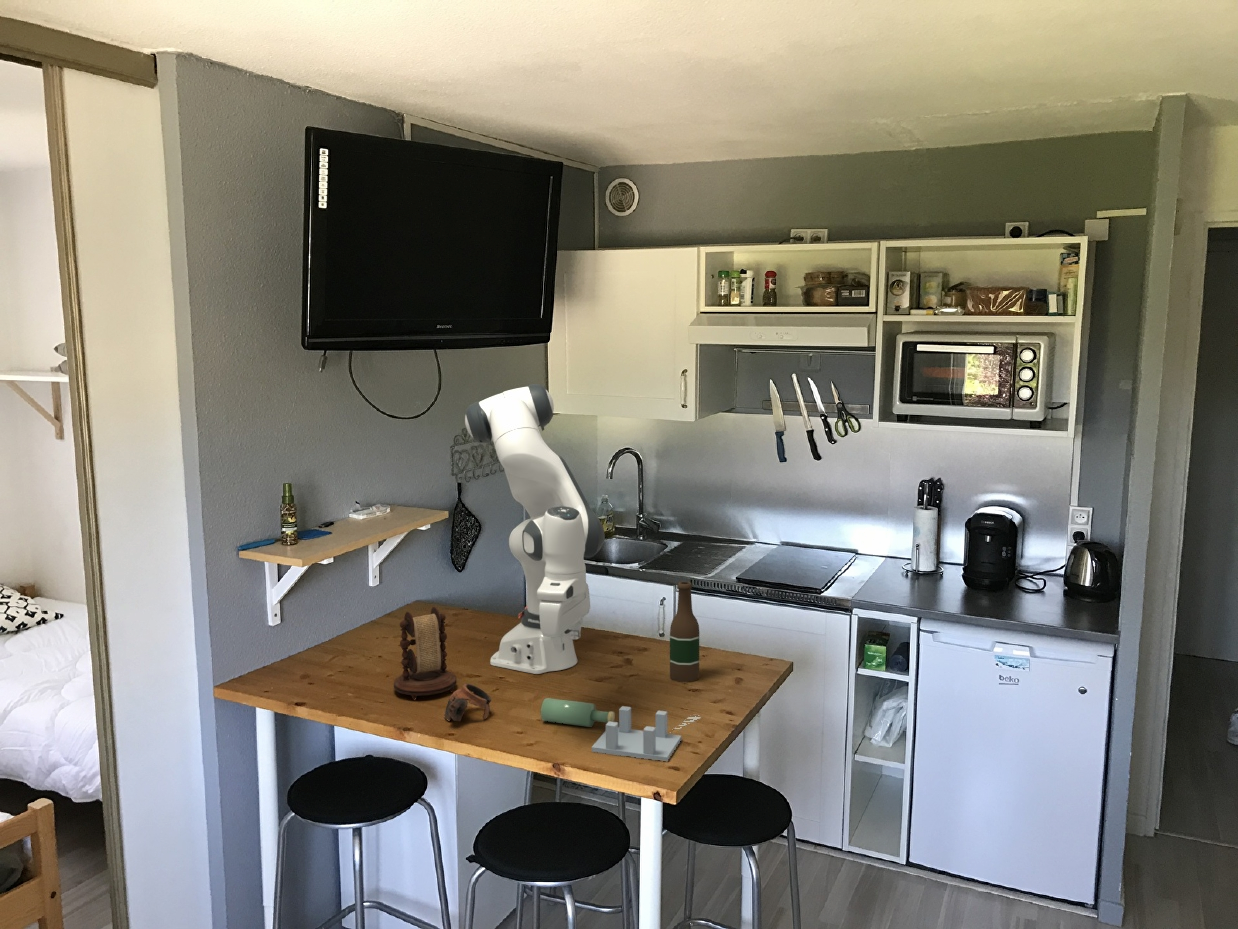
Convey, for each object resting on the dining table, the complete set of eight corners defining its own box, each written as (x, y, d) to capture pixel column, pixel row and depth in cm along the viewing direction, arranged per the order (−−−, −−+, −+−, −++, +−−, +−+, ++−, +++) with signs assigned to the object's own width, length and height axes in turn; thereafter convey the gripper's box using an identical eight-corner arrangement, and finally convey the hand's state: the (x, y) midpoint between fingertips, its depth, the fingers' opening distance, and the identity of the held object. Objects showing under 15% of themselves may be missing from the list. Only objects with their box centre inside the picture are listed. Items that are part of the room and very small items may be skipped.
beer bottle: (663, 679, 243) (663, 584, 240) (676, 670, 250) (676, 577, 247) (692, 684, 240) (693, 588, 236) (705, 674, 246) (705, 580, 243)
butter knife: (704, 716, 220) (692, 713, 222) (645, 755, 200) (633, 751, 202) (704, 718, 220) (692, 715, 222) (645, 757, 201) (633, 753, 202)
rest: (591, 751, 202) (591, 723, 202) (609, 731, 213) (609, 704, 212) (667, 762, 197) (667, 733, 197) (681, 740, 208) (681, 713, 207)
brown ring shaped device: (450, 710, 227) (467, 678, 226) (483, 732, 224) (501, 700, 224) (428, 716, 215) (447, 683, 215) (463, 740, 212) (482, 707, 212)
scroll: (407, 706, 227) (404, 622, 225) (385, 687, 240) (381, 607, 237) (466, 693, 235) (464, 611, 233) (441, 675, 248) (439, 597, 245)
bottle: (541, 724, 217) (540, 702, 216) (549, 716, 221) (549, 694, 221) (609, 733, 212) (609, 711, 211) (616, 724, 216) (616, 702, 216)
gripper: (569, 570, 224) (571, 630, 225) (533, 593, 205) (535, 658, 206) (596, 572, 222) (597, 632, 223) (561, 595, 202) (563, 661, 204)
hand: (567, 645), depth 215 cm, fingers open, 8 cm apart
